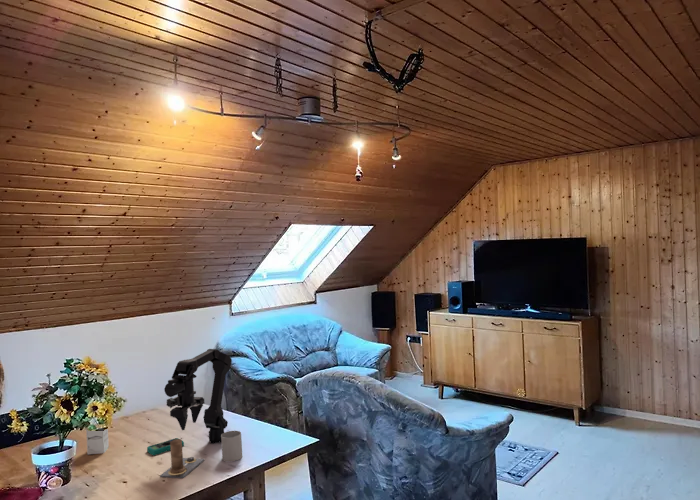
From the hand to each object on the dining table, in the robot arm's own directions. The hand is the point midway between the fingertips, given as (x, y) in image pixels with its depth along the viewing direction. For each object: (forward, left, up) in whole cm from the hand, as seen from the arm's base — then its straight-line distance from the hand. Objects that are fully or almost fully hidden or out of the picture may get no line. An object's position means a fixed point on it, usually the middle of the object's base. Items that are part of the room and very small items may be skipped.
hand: (188, 426), depth 229 cm
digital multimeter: (+11, -14, -14) cm, 22 cm away
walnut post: (+5, +15, -12) cm, 20 cm away
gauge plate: (+3, +12, -13) cm, 18 cm away
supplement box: (+40, -24, -13) cm, 48 cm away
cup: (-17, +9, -13) cm, 23 cm away
